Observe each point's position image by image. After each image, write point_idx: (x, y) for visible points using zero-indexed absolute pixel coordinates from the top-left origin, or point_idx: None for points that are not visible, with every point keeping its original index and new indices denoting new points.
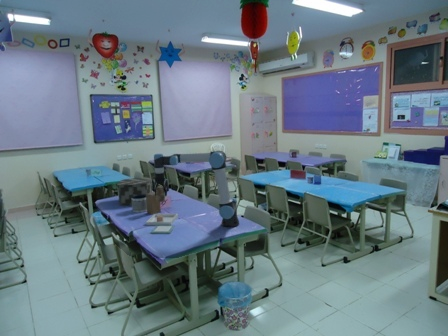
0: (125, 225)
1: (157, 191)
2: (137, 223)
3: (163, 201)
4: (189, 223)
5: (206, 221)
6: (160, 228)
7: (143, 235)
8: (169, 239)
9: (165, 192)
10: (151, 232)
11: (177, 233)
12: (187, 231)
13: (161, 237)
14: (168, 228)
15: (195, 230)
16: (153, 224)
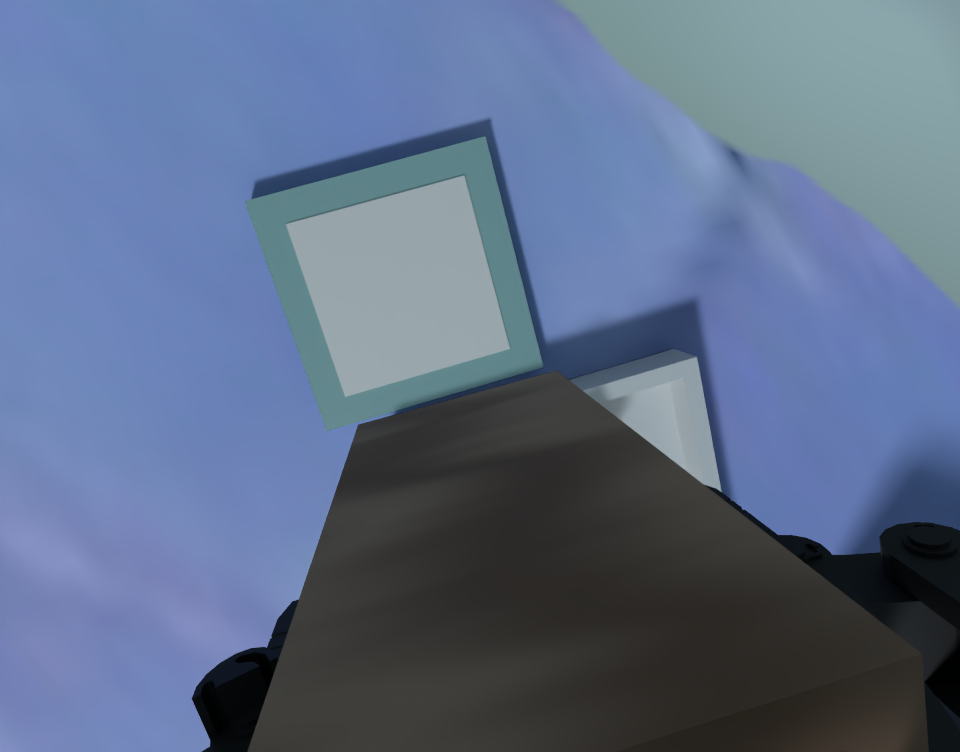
0: (907, 299)
1: (641, 516)
2: (810, 395)
3: (368, 423)
4: (229, 575)
5: (72, 692)
6: (437, 286)
7: (534, 59)
8: (132, 16)
9: (230, 658)
10: (474, 139)
11: (165, 239)
12: (85, 336)
13: (276, 55)
14: (341, 315)
15: (9, 395)
16: (594, 378)
